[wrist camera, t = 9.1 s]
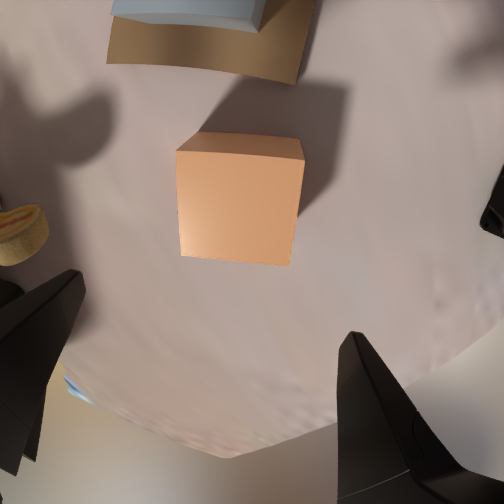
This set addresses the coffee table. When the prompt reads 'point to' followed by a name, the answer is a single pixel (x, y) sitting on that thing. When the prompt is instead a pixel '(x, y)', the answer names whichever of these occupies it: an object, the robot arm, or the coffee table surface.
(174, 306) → the coffee table surface
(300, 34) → the walnut base plate
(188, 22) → the slate-blue block
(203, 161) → the terracotta block
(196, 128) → the coffee table surface
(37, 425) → the flower pot
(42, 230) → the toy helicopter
